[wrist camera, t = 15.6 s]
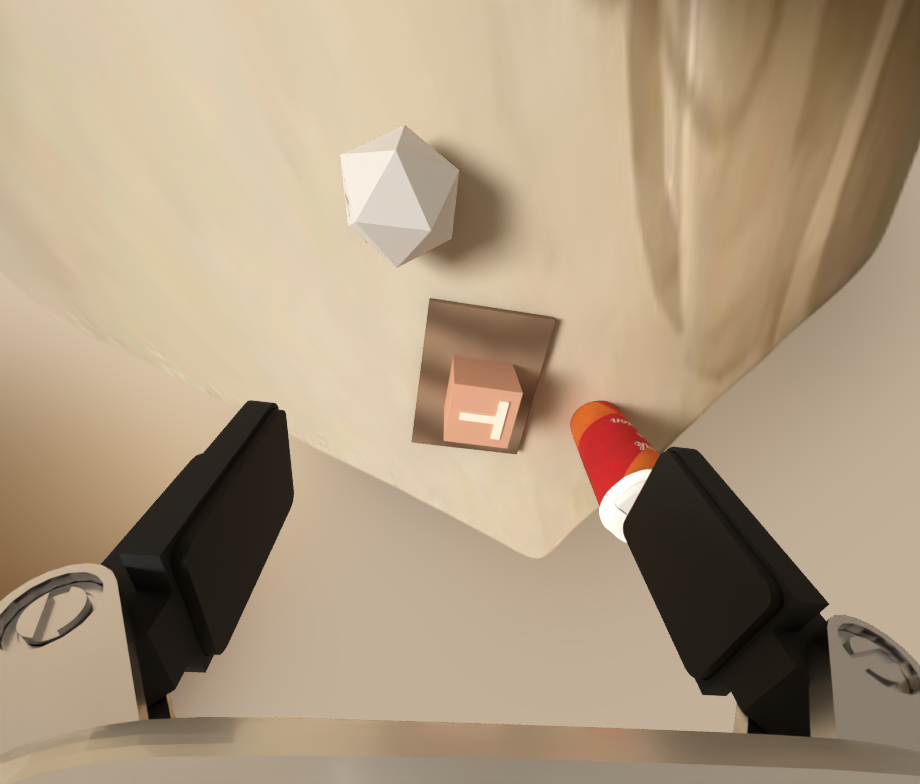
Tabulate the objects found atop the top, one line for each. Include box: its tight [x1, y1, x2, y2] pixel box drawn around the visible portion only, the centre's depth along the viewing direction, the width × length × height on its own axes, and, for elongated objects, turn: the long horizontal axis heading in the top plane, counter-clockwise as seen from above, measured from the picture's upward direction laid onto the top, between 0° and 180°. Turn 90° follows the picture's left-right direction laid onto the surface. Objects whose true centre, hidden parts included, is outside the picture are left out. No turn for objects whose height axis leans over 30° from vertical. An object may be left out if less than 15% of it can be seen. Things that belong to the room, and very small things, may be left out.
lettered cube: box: [444, 355, 523, 449], centre depth 37 cm, size 6×6×6 cm
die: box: [340, 125, 459, 267], centre depth 28 cm, size 8×9×10 cm
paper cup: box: [570, 401, 660, 543], centre depth 37 cm, size 8×8×14 cm
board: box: [412, 298, 556, 454], centre depth 40 cm, size 16×12×1 cm
